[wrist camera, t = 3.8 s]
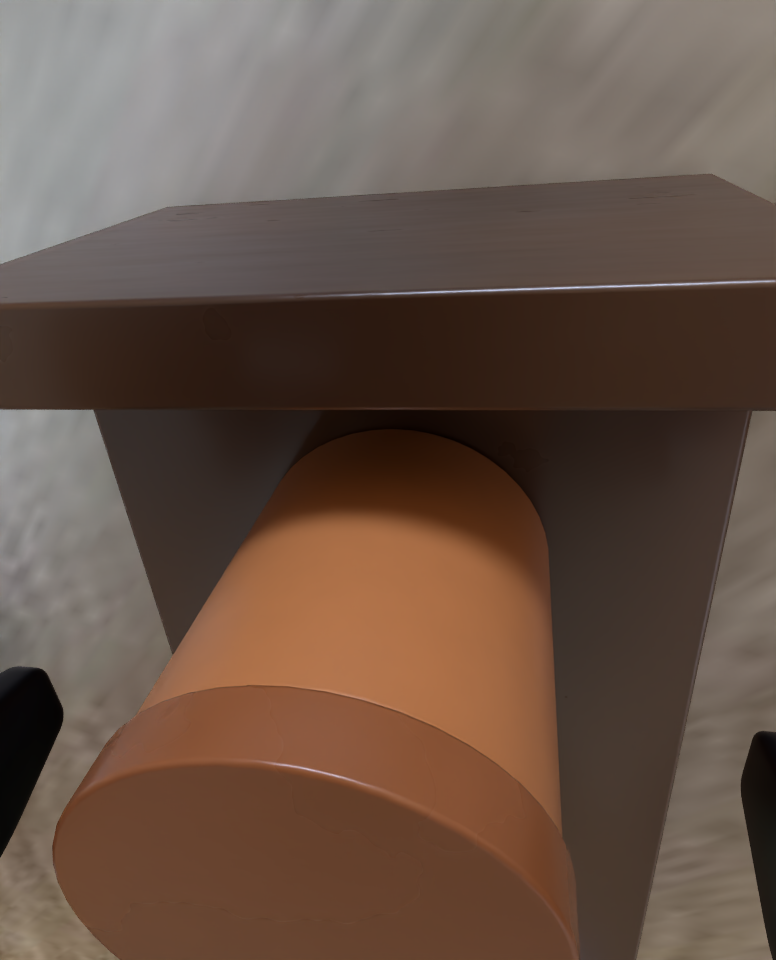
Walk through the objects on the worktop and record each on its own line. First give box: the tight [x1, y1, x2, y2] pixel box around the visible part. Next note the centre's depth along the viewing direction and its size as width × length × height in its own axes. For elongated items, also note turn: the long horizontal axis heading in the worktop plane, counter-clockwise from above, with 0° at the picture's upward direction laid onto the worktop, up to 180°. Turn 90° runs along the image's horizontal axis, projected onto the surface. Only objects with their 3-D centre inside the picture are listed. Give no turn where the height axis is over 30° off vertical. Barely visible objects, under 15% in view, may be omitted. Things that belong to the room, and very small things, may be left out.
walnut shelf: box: [0, 174, 776, 960], centre depth 15 cm, size 10×24×7 cm, turn 5°
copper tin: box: [52, 429, 580, 960], centre depth 9 cm, size 5×5×6 cm
